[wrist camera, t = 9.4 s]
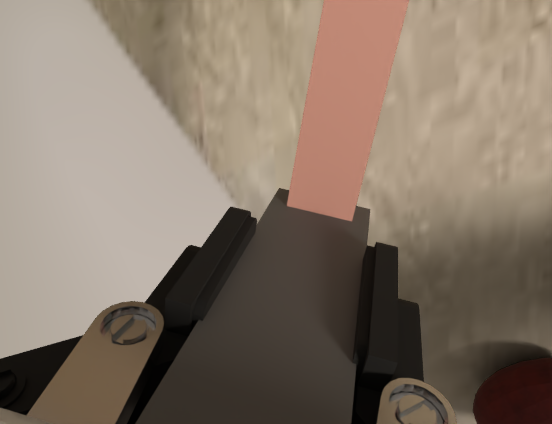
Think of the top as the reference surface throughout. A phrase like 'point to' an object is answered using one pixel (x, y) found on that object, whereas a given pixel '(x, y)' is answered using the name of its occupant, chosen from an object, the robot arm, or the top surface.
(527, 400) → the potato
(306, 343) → the rake
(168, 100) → the top surface
